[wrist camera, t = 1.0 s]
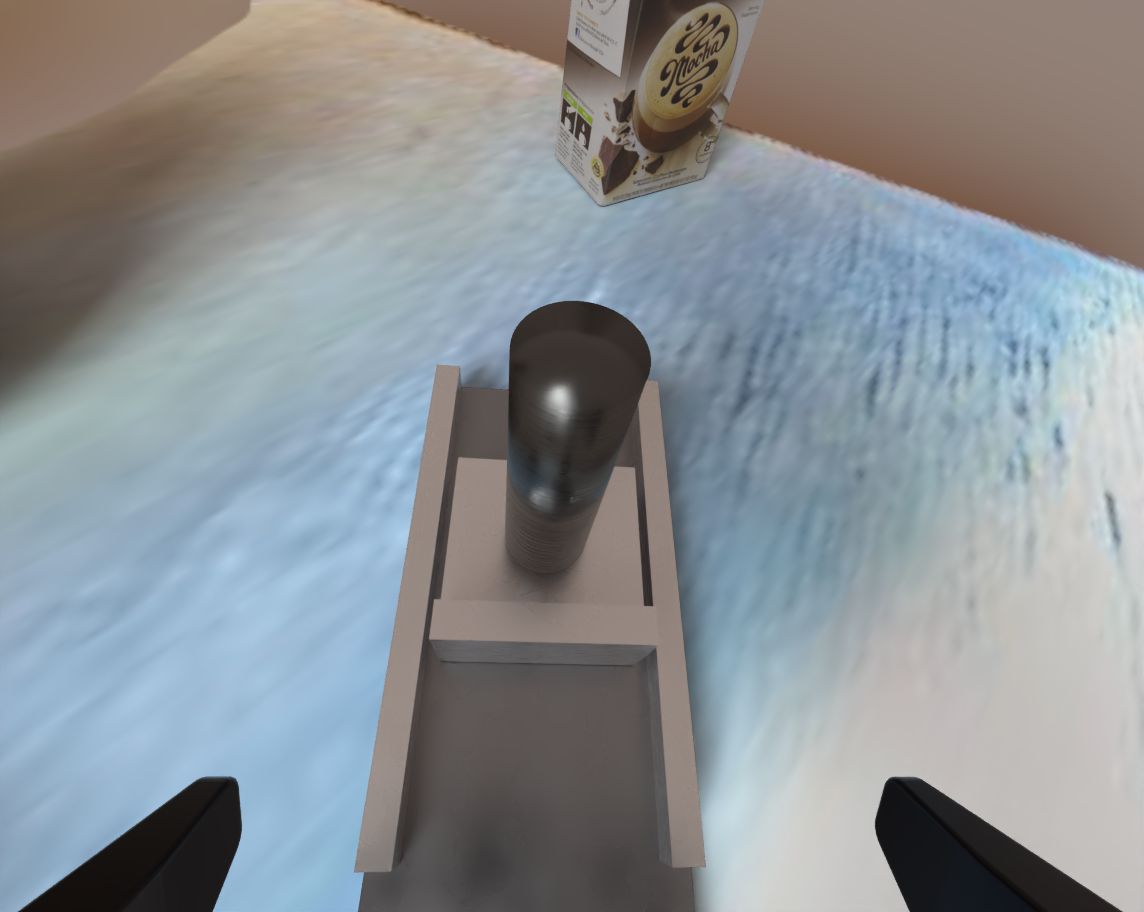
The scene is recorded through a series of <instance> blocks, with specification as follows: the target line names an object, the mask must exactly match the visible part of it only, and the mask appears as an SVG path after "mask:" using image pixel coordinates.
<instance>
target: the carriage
mask: <svg viewBox="0 0 1144 912" xmlns="http://www.w3.org/2000/svg"><path fill="white" fill-rule="evenodd" d="M650 367H651V356H650V351H649V348H648V345H647V342H646V340H645V339H644V337H643V335H642V334H641V332H640V331H639V330H638V329H637V328H636V326H635V325H634V324H633V323H631V322H630V321H629V320H628V319H627V318H625V317H624V316H622V315H621V314H619V313H617V312H616V311H614V310H611V309H609V308H607V307H604V306H601V305H598V304H594V303H590V302H583V301H563V302H556V303H552V304H548V305H545V306H543V307H540V308H538V309H536V310H535V311H533V312H531V313H530V314H529V315H527V316H526V317H525V318H524V319H523V320H522V321H521V322H520V323H519V324H518V326H517V327H516V329H515V331H514V333H513V335H512V338H511V343H510V360H509V399H508V437H507V460H495V459H478V458H461V457H458V464H457V472H456V480H455V488H454V496H453V504H452V512H451V521H450V529H449V537H448V545H447V553H446V561H445V569H444V577H443V585H442V593H441V599H434V605H433V613H432V620H431V628H430V636H429V640H430V642H431V644H432V646H433V648H434V650H435V652H436V654H437V656H438V658H439V660H440V661H451V662H496V663H541V664H586V665H631V666H634V665H636V664H637V663H638V662H639V661H641V660H642V659H643V658H644V657H645V656H647V655H648V654H649V653H650V652H651V651H653V650H654V649H655V648H656V647H658V646H659V638H658V625H657V611H656V606H644V600H643V585H642V569H641V554H640V539H639V523H638V508H637V493H636V478H635V468H632V467H615V464H616V461H617V459H618V456H619V453H620V451H621V448H622V445H623V443H624V440H625V437H626V435H627V432H628V429H629V427H630V424H631V421H632V418H633V416H634V413H635V410H636V408H637V405H638V402H639V400H640V397H641V394H642V392H643V389H644V386H645V384H646V381H647V378H648V375H649V372H650Z"/></svg>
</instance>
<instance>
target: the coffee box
mask: <svg viewBox="0 0 1144 912" xmlns="http://www.w3.org/2000/svg"><path fill="white" fill-rule="evenodd" d="M764 1H765V0H571V9H570V19H569V28H568V39H567V48H566V57H565V66H564V76H563V85H562V94H561V106H560V115H559V124H558V134H557V144H556V153H555V155H556V157H557V159H558V160H559V161H560V162H561V163H562V164H563V165H564V167H565V168H566V169H567V170H568V171H569V172H570V173H571V174H572V176H573V177H574V178H575V179H576V180H577V181H578V182H579V184H580V185H581V186H582V187H583V188H584V189H585V190H586V191H587V193H588V194H589V195H590V196H591V197H592V198H593V199H594V201H595V202H596V203H597V204H598V205H600V206H606V205H610V204H613V203H617V202H620V201H624V200H627V199H631V198H634V197H638V196H642V195H645V194H649V193H652V192H656V191H659V190H663V189H667V188H670V187H674V186H678V185H681V184H685V183H689V182H692V181H696V180H699V179H702V178H704V176H705V173H706V170H707V167H708V164H709V161H710V158H711V155H712V152H713V149H714V147H715V144H716V140H717V138H718V135H719V132H720V129H721V126H722V124H723V120H724V117H725V115H726V112H727V109H728V106H729V103H730V100H731V97H732V95H733V92H734V89H735V86H736V82H737V79H738V77H739V74H740V71H741V68H742V65H743V62H744V59H745V56H746V53H747V50H748V47H749V44H750V42H751V38H752V36H753V33H754V30H755V27H756V24H757V21H758V19H759V16H760V12H761V10H762V7H763V4H764Z"/></svg>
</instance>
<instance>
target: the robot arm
mask: <svg viewBox="0 0 1144 912" xmlns="http://www.w3.org/2000/svg"><path fill="white" fill-rule="evenodd" d="M875 830H876V835H877V838H878V841H879V844H880V846H881V848H882V851H883V853H884V855H885V857H886V860H887V862H888V864H889V866H890V869H891V871H892V873H893V875H894V878H895V880H896V882H897V884H898V887H899V889H900V891H901V893H902V896H903V898H904V900H905V902H906V905H907V907H908V909H909V911H910V912H1122V911H1121V910H1119V909H1118V908H1116V907H1115V906H1113V905H1112V904H1110V903H1109V902H1107V901H1105V900H1104V899H1102V898H1101V897H1099V896H1098V895H1096V894H1095V893H1093V892H1092V891H1090V890H1089V889H1087V888H1086V887H1084V886H1083V885H1081V884H1080V883H1078V882H1077V881H1075V880H1074V879H1072V878H1071V877H1069V876H1068V875H1066V874H1065V873H1063V872H1061V871H1060V870H1058V869H1057V868H1055V867H1054V866H1052V865H1051V864H1049V863H1048V862H1046V861H1045V860H1043V859H1042V858H1040V857H1039V856H1037V855H1036V854H1034V853H1033V852H1031V851H1030V850H1028V849H1027V848H1025V847H1024V846H1022V845H1021V844H1019V843H1017V842H1016V841H1014V840H1013V839H1011V838H1010V837H1008V836H1007V835H1005V834H1004V833H1002V832H1001V831H999V830H998V829H996V828H995V827H993V826H992V825H990V824H989V823H987V822H986V821H984V820H983V819H981V818H980V817H978V816H977V815H975V814H973V813H972V812H970V811H969V810H967V809H966V808H964V807H963V806H961V805H960V804H958V803H957V802H955V801H954V800H952V799H951V798H949V797H948V796H946V795H945V794H943V793H942V792H940V791H939V790H937V789H936V788H934V787H932V786H931V785H929V784H928V783H926V782H925V781H923V780H922V779H919V778H916V777H891V778H889V779H888V780H887V781H886V783H885V785H884V789H883V793H882V796H881V800H880V804H879V807H878V811H877V815H876V819H875ZM241 831H242V820H241V809H240V797H239V786H238V782H237V780H236V779H235V778H233V777H202V778H200V779H198V780H196V781H195V782H193V783H192V784H190V785H189V786H188V787H186V788H185V789H184V790H182V791H181V792H180V793H178V794H177V795H176V796H174V797H173V798H171V799H170V800H169V801H167V802H166V803H165V804H163V805H162V806H161V807H159V808H158V809H157V810H155V811H154V812H152V813H151V814H150V815H148V816H147V817H146V818H144V819H143V820H142V821H140V822H139V823H138V824H136V825H135V826H133V827H132V828H131V829H129V830H128V831H127V832H125V833H124V834H123V835H121V836H120V837H119V838H117V839H116V840H115V841H113V842H112V843H110V844H109V845H108V846H106V847H105V848H104V849H102V850H101V851H100V852H98V853H97V854H96V855H94V856H93V857H91V858H90V859H89V860H87V861H86V862H85V863H83V864H82V865H81V866H79V867H78V868H77V869H75V870H74V871H72V872H71V873H70V874H68V875H67V876H66V877H64V878H63V879H62V880H60V881H59V882H58V883H56V884H55V885H53V886H52V887H51V888H49V889H48V890H47V891H45V892H44V893H43V894H41V895H40V896H39V897H37V898H36V899H34V900H33V901H32V902H30V903H29V904H28V905H26V906H25V907H24V908H22V909H21V910H20V911H18V912H213V909H214V907H215V904H216V902H217V899H218V897H219V894H220V892H221V889H222V887H223V884H224V881H225V879H226V876H227V874H228V871H229V869H230V866H231V864H232V861H233V859H234V856H235V854H236V851H237V848H238V845H239V842H240V838H241Z"/></svg>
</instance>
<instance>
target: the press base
mask: <svg viewBox="0 0 1144 912" xmlns="http://www.w3.org/2000/svg"><path fill="white" fill-rule="evenodd" d="M508 399H509V390H498V389H483V388H469V387H462V385H461V374H460V366H449V365H437V367H436V373H435V379H434V385H433V391H432V397H431V404H430V410H429V416H428V422H427V428H426V434H425V440H424V446H423V453H422V459H421V465H420V471H419V477H418V483H417V489H416V495H415V502H414V508H413V514H412V520H411V526H410V532H409V538H408V544H407V551H406V557H405V563H404V569H403V575H402V581H401V587H400V593H399V600H398V606H397V612H396V618H395V624H394V630H393V636H392V642H391V649H390V655H389V661H388V667H387V673H386V679H385V685H384V691H383V698H382V704H381V710H380V716H379V722H378V728H377V734H376V740H375V747H374V753H373V759H372V765H371V771H370V777H369V783H368V789H367V796H366V802H365V808H364V814H363V820H362V826H361V832H360V838H359V845H358V851H357V857H356V863H355V869H354V872H364V877H363V883H362V890H361V896H360V902H359V909H358V912H695V906H694V895H693V883H692V872H691V867H706V863H705V853H704V843H703V833H702V823H701V813H700V803H699V793H698V783H697V772H696V762H695V752H694V742H693V732H692V722H691V712H690V702H689V691H688V681H687V671H686V661H685V651H684V641H683V631H682V621H681V610H680V600H679V590H678V580H677V570H676V560H675V550H674V540H673V529H672V519H671V509H670V499H669V489H668V479H667V469H666V459H665V448H664V438H663V428H662V418H661V408H660V398H659V388H658V381H650V380H647V381H646V384H645V386H644V389H643V392H642V394H641V397H640V400H639V402H638V405H637V408H636V410H635V413H634V416H633V418H632V421H631V424H630V427H629V429H628V432H627V435H626V437H625V440H624V443H623V445H622V448H621V451H620V453H619V456H618V459H617V461H616V464H615V467H632V468H635V478H636V493H637V508H638V523H639V539H640V554H641V569H642V585H643V600H644V606H656V611H657V625H658V638H659V646H658V647H656V648H655V649H654V650H653V651H651V652H650V653H649V654H648V655H647V656H645V657H644V658H643V659H642V660H641V661H639V662H638V663H637V664H636V665H634V666H631V665H586V664H541V663H496V662H451V661H440V660H439V658H438V656H437V654H436V652H435V650H434V648H433V646H432V644H431V642H430V640H429V636H430V628H431V620H432V613H433V605H434V599H441V593H442V585H443V577H444V569H445V561H446V553H447V545H448V537H449V529H450V521H451V512H452V504H453V496H454V488H455V480H456V472H457V464H458V457H461V458H478V459H495V460H507V437H508Z"/></svg>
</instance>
